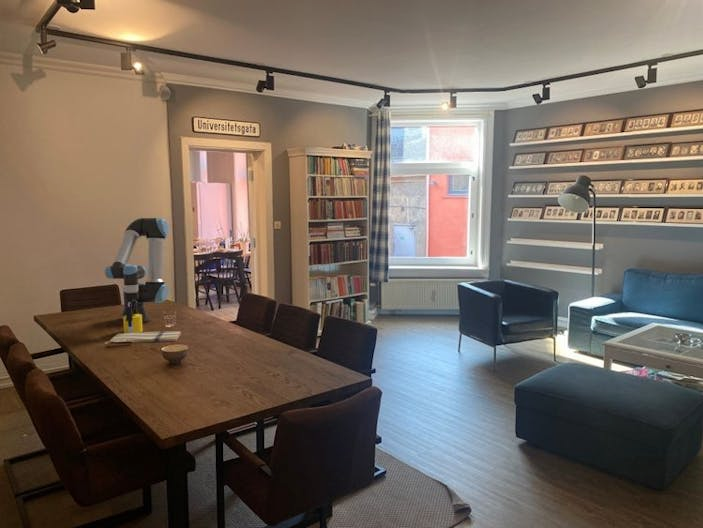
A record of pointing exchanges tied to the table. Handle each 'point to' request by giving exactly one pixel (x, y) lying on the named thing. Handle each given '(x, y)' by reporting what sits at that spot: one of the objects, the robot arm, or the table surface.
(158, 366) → the table surface
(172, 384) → the table surface
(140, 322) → the tape roll
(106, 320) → the table surface
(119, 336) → the board
